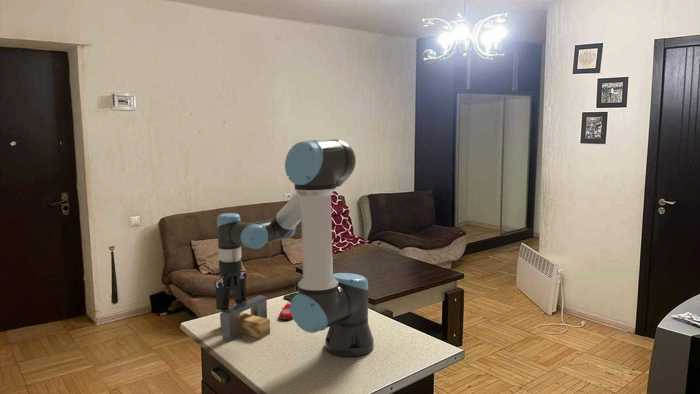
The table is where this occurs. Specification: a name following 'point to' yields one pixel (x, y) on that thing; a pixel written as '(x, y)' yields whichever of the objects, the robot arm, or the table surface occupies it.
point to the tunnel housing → (233, 316)
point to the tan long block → (253, 325)
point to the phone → (290, 296)
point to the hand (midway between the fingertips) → (232, 325)
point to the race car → (286, 313)
